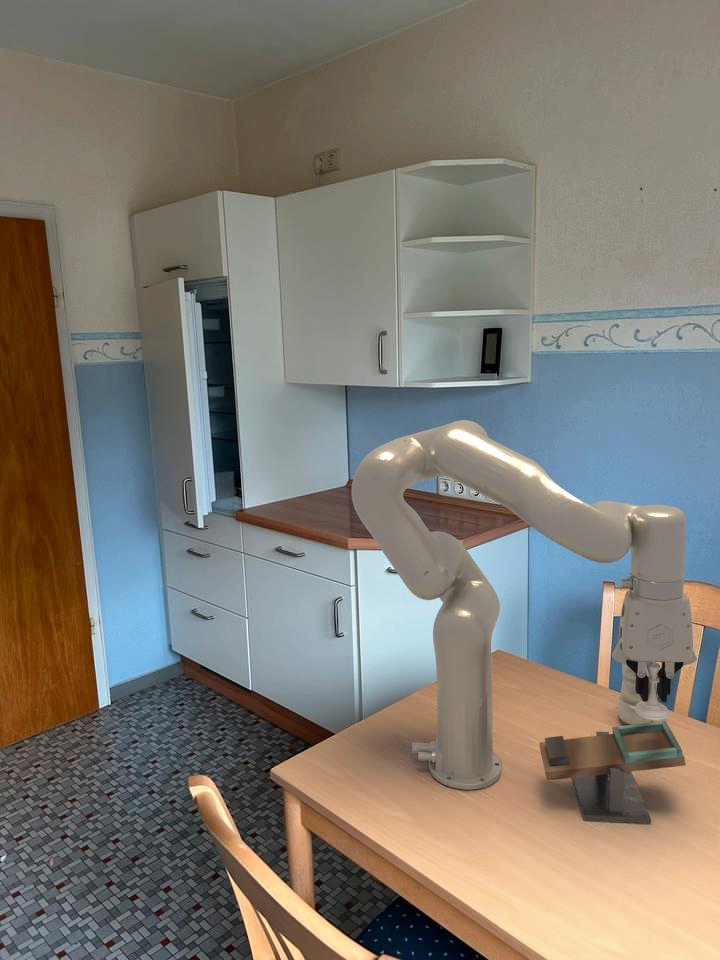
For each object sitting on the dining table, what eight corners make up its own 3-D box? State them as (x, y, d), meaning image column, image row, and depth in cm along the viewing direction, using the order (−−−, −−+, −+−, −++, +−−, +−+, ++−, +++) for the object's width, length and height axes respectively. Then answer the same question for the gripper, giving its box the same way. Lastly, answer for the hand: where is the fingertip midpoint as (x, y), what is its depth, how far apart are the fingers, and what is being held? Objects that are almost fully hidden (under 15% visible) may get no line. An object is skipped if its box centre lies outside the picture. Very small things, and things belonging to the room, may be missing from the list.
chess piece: (671, 721, 111) (674, 660, 109) (637, 719, 112) (639, 659, 110) (665, 705, 116) (667, 647, 114) (632, 703, 117) (634, 645, 115)
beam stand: (583, 820, 112) (584, 773, 110) (570, 771, 124) (571, 728, 123) (650, 824, 110) (652, 776, 109) (630, 774, 123) (632, 730, 122)
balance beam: (548, 786, 114) (543, 764, 113) (541, 754, 122) (537, 733, 122) (686, 771, 110) (683, 748, 110) (669, 739, 119) (666, 718, 118)
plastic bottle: (622, 710, 144) (626, 616, 140) (658, 720, 140) (662, 623, 136) (612, 725, 139) (616, 627, 135) (649, 735, 135) (653, 634, 131)
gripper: (607, 594, 107) (604, 708, 111) (720, 595, 105) (714, 711, 109) (597, 578, 115) (595, 685, 118) (703, 578, 112) (697, 687, 116)
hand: (652, 697), depth 113 cm, fingers closed on chess piece
